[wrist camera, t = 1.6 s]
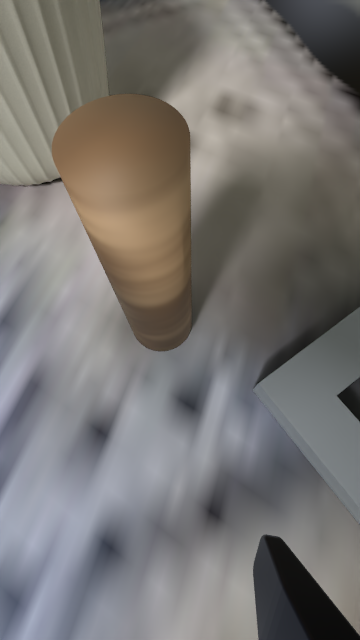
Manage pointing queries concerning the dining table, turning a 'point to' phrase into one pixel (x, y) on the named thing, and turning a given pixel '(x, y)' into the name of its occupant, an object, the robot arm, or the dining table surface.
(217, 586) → the dining table surface
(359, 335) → the hole plate
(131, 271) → the tall pin
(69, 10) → the canister
